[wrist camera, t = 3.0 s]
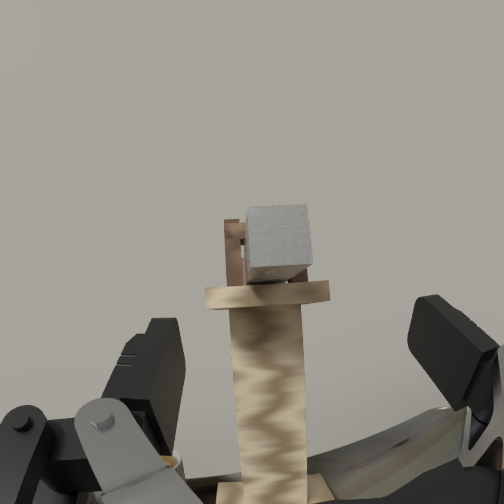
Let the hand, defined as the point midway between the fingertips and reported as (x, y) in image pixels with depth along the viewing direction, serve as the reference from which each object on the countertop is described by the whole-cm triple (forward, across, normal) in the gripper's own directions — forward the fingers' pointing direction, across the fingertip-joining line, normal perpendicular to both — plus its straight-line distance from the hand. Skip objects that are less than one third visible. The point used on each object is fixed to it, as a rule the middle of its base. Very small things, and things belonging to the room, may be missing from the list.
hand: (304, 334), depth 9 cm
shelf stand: (+9, 0, +38) cm, 39 cm away
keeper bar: (+21, -1, +8) cm, 22 cm away
